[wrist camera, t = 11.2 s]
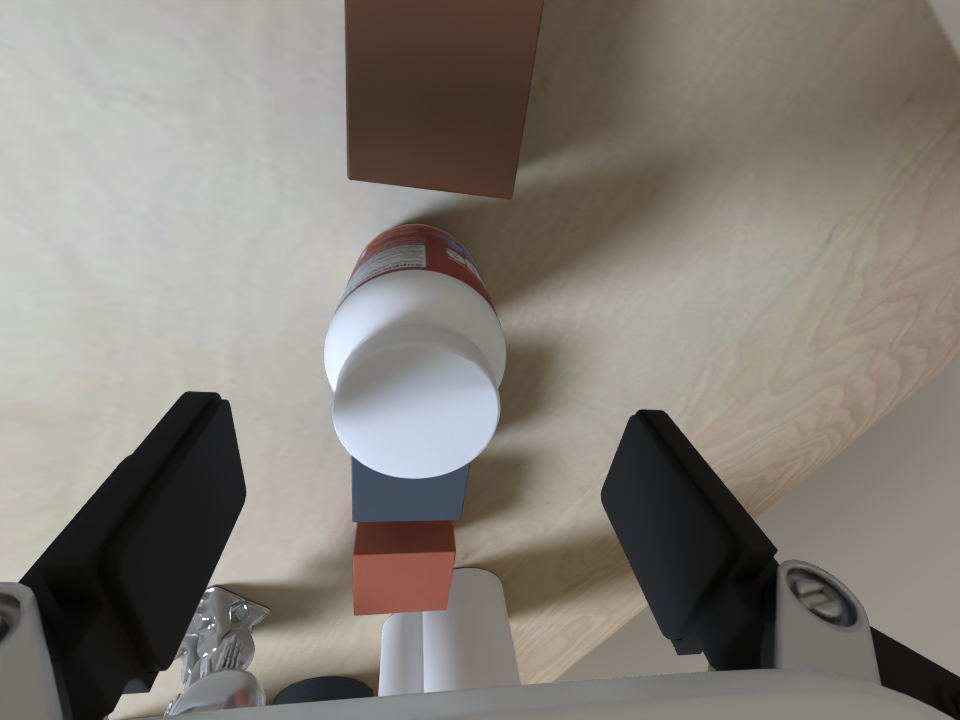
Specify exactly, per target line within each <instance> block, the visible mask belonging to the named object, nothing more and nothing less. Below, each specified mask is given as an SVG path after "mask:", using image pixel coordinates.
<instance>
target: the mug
mask: <svg viewBox="0 0 960 720" xmlns="http://www.w3.org/2000/svg"><path fill="white" fill-rule="evenodd" d="M366 697H375V696H374V693H373V691H372V689H371V688H370V687H368V686H367V685H366V684H365V683H362V682H359V681H357V680H354V679H349V678H342V677H320V678H315V679H309V680H304V681H301V682H299V683H296V684H293V685H291V686H289V687H287V688H286V689H284V690H283V691H281V692H280V693H279V694H278V696H277V697H276V698H275V700H274V705H282V704H294V703H306V702H318V701H330V700H342V699H354V698H366Z"/></svg>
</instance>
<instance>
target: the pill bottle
mask: <svg viewBox="0 0 960 720" xmlns="http://www.w3.org/2000/svg"><path fill="white" fill-rule="evenodd" d="M324 362H325V369H326V373H327V376H328V379H329V382H330V385H331V387H332V389H333V391H334V392H335V393H334V398H333V403H332V418H333V424H334V427H335V431H336V433H337V435H338V438H339V439H340V442H341V443H342V444H343V446H344V447H345V448H346V449H347V451H348V452H349V453H350V454H351V455H352V456H353V457H354V458H356V459H357V460H358V461H360V462H361V463H362V464H364V465H366V466H367V467H369V468H371V469H373V470H375V471H377V472H380V473H383V474H386V475H390V476H394V477H400V478H410V479H419V478H429V477H435V476H440V475H443V474H446V473H449V472H452V471H454V470H456V469H459V468H460V467H462V466H464V465H466V464H467V463H469V462H470V461H472V460H473V459H474V458H475V457H477V456H478V455H479V454H480V453H481V452H482V451H483V450H484V449H485V447H486V446H487V445H488V444H489V442H490V441H491V439H492V437H493V435H494V434H495V431H496V429H497V426H498V423H499V418H500V411H501V406H500V396H499V392H498V388H499V386H500V384H501V381H502V378H503V375H504V371H505V366H506V344H505V339H504V335H503V331H502V328H501V325H500V322H499V319H498V317H497V314H496V312H495V309H494V307H493V304H492V302H491V299H490V297H489V294H488V291H487V289H486V287H485V285H484V282H483V280H482V277H481V275H480V273H479V270H478V268H477V266H476V263H475V261H474V259H473V258H472V256H471V254H470V253H469V252H468V250H467V249H466V248H465V247H464V246H463V244H462V243H461V242H460V241H458V240H457V239H456V238H455V237H454V236H452V235H451V234H449V233H447V232H445V231H444V230H441V229H439V228H436V227H433V226H429V225H424V224H406V225H401V226H397V227H394V228H391V229H389V230H387V231H384V232H383V233H381V234H380V235H378V236H377V237H376V238H374V239H373V240H372V241H371V242H370V243H369V244H368V245H367V246H366V248H365V249H364V251H363V252H362V254H361V255H360V257H359V259H358V261H357V263H356V265H355V268H354V270H353V272H352V275H351V277H350V279H349V281H348V284H347V286H346V288H345V291H344V293H343V296H342V298H341V300H340V303H339V305H338V307H337V309H336V312H335V314H334V316H333V318H332V321H331V324H330V327H329V329H328V332H327V336H326V340H325V346H324Z"/></svg>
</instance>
